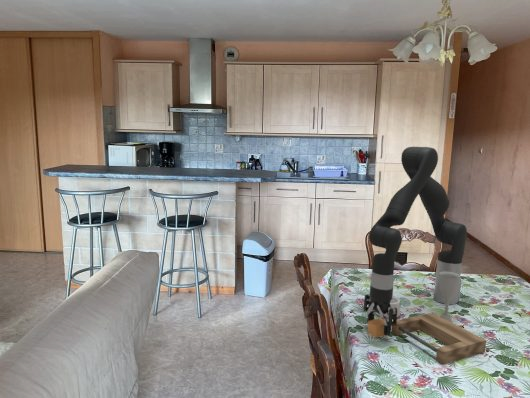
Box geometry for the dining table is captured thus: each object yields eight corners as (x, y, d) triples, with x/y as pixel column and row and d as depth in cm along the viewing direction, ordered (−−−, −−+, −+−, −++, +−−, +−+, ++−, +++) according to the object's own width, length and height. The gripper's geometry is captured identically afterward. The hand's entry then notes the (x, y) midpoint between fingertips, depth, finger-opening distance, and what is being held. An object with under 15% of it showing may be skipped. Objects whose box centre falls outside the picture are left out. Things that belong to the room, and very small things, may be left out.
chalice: (455, 318, 157) (459, 273, 154) (456, 326, 150) (462, 279, 147) (434, 315, 159) (438, 270, 156) (435, 323, 153) (439, 276, 150)
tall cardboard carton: (381, 329, 147) (381, 317, 146) (388, 334, 143) (389, 322, 142) (367, 333, 144) (368, 320, 143) (375, 338, 141) (376, 325, 140)
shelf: (431, 322, 153) (432, 312, 152) (484, 351, 133) (486, 340, 133) (391, 332, 145) (392, 321, 144) (442, 364, 125) (443, 352, 125)
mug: (395, 321, 153) (396, 306, 152) (370, 314, 159) (371, 299, 158) (405, 310, 163) (406, 296, 162) (381, 304, 168) (382, 290, 167)
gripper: (405, 290, 136) (401, 336, 139) (376, 276, 149) (373, 319, 151) (387, 293, 133) (383, 341, 135) (359, 279, 145) (356, 322, 148)
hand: (378, 329), depth 143 cm, fingers open, 8 cm apart
